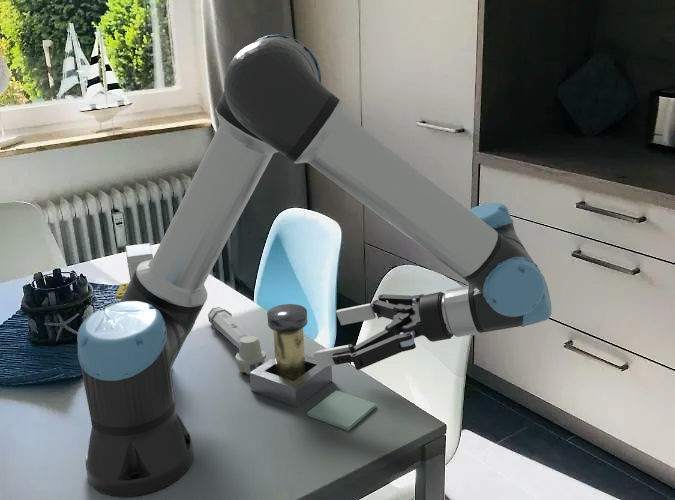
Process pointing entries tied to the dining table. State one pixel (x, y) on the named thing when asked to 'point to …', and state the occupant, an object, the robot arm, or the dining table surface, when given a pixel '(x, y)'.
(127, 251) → the small box
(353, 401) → the mat
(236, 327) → the white handheld tool
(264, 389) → the box
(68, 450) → the dining table surface
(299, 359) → the tan and grey cylinder
